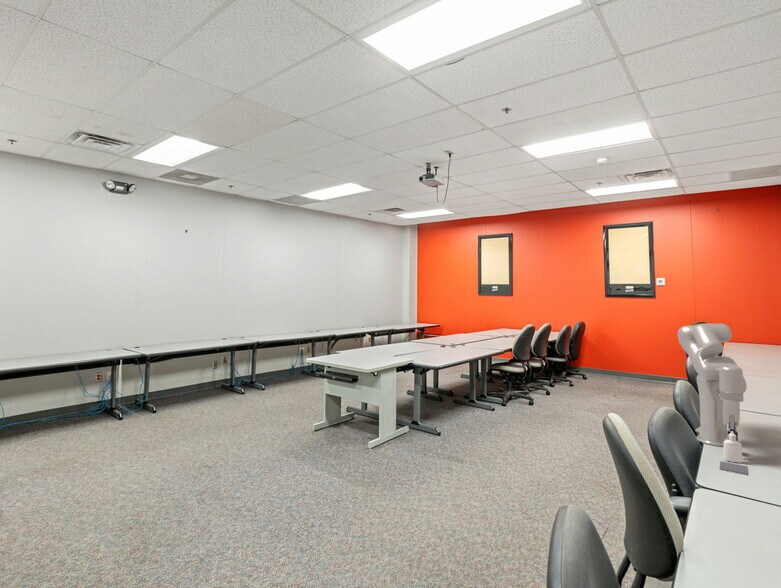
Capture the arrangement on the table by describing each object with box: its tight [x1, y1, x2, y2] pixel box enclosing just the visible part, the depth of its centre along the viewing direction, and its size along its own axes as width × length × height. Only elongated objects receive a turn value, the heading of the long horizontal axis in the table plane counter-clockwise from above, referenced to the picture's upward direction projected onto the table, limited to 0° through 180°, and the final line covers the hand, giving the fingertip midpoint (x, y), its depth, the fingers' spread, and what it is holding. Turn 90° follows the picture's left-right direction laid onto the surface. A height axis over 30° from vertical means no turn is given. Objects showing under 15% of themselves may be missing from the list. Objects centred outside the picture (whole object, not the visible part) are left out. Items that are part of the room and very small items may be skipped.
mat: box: [719, 460, 748, 476], centre depth 156 cm, size 9×8×1 cm
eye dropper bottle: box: [723, 431, 743, 464], centre depth 163 cm, size 4×6×12 cm
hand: (732, 441), depth 167 cm, fingers closed
